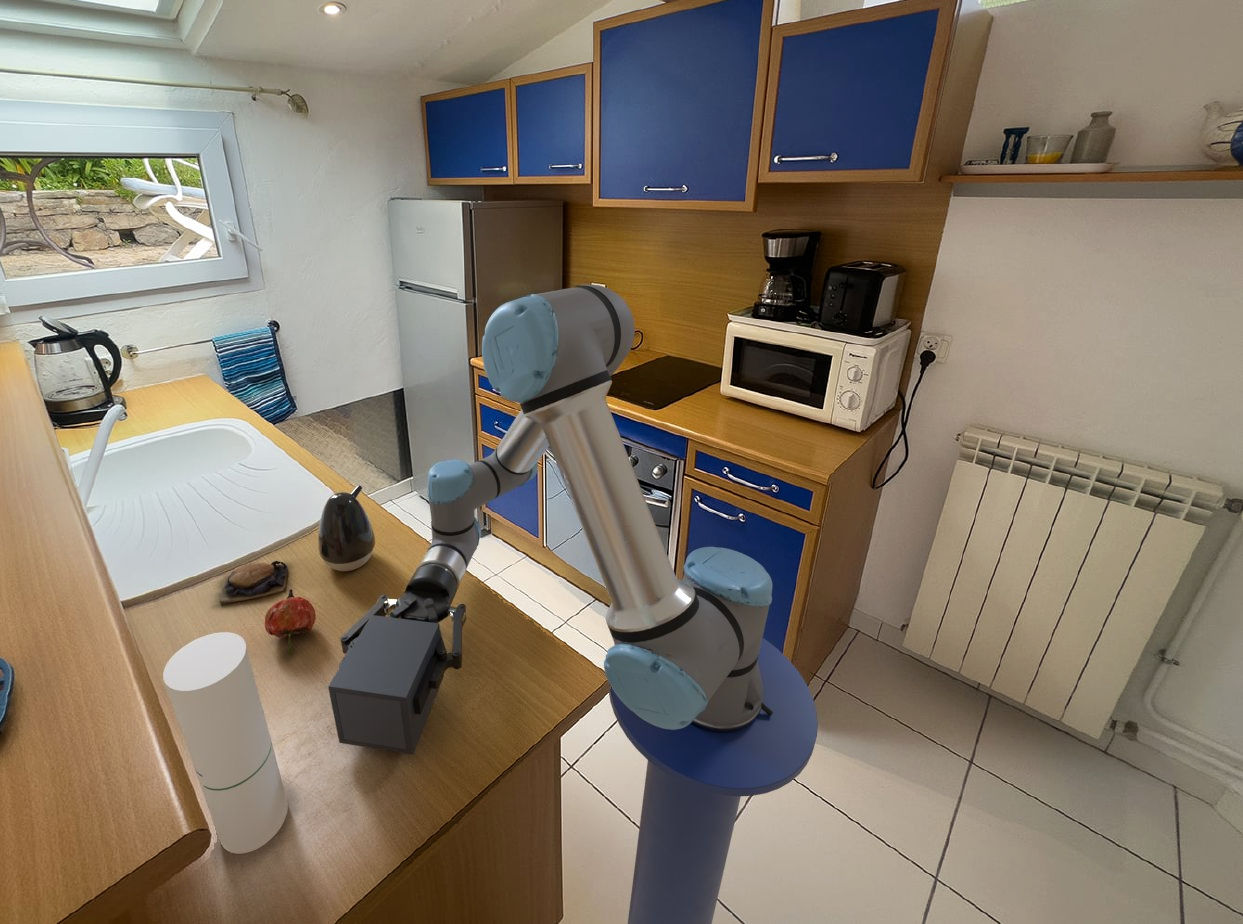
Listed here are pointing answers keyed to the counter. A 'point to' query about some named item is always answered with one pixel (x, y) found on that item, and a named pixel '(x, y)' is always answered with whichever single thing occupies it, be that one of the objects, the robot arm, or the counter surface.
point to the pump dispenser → (345, 532)
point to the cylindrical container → (228, 739)
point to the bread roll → (254, 581)
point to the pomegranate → (290, 617)
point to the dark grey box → (384, 684)
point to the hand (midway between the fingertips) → (376, 700)
